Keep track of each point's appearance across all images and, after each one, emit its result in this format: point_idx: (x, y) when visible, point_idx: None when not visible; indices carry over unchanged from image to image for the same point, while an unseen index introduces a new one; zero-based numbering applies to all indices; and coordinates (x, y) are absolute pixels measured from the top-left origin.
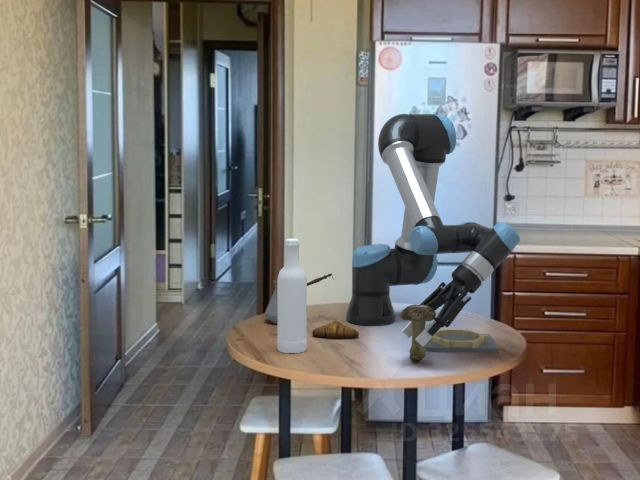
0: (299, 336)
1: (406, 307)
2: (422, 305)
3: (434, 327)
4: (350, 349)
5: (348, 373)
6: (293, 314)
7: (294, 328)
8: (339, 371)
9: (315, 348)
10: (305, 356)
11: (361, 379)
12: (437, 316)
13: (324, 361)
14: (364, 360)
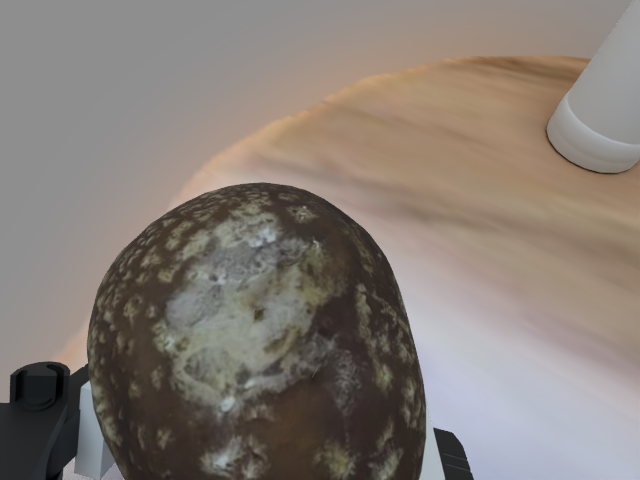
0: (580, 97)
1: (318, 210)
2: (249, 354)
3: (75, 377)
4: (566, 282)
5: (303, 147)
6: (633, 5)
7: (595, 59)
8: (333, 139)
9: (598, 196)
10: (510, 139)
11: (236, 146)
12: (48, 434)
13: (442, 153)
14: (407, 247)
